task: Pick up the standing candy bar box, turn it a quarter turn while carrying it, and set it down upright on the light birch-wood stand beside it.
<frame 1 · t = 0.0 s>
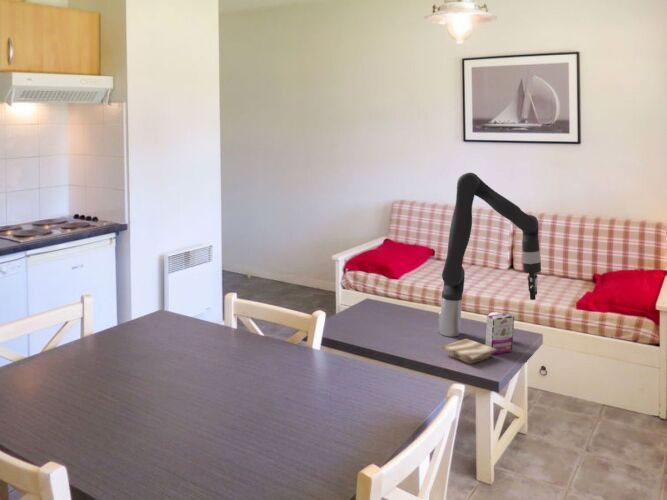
hand: (533, 297, 287), 22 cm above the table, tool pointing down, fingers open, 8 cm apart
candy bar box: (497, 352, 283), on the table
stand: (468, 356, 277), on the table
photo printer: (497, 339, 299), on the table
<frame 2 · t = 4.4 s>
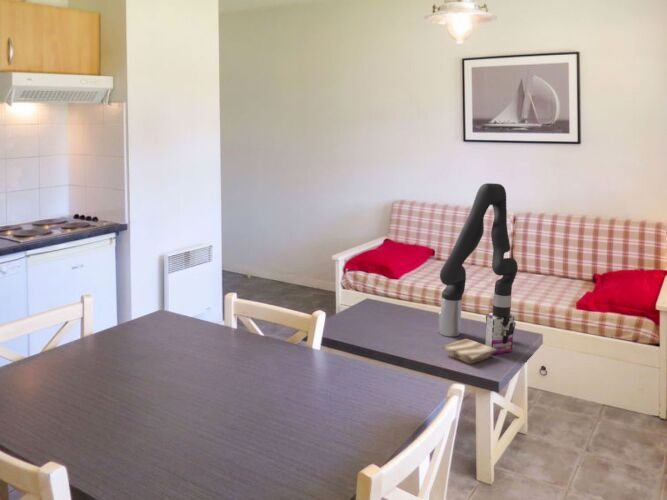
hand: (498, 341, 282), 5 cm above the table, tool pointing down, fingers closed on candy bar box, 5 cm apart
candy bar box: (497, 352, 283), on the table, touching gripper
everything else where it was.
when the fingers open (10 cm above the table, at t = 10.1 s): candy bar box drops 1 cm, resting on stand.
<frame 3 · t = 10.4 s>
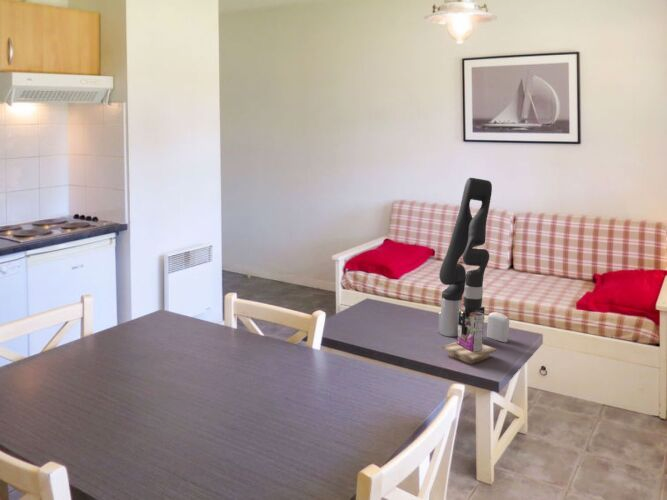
hand: (470, 332, 274), 11 cm above the table, tool pointing down, fingers open, 8 cm apart
candy bar box: (468, 348, 276), point 4 cm above the table, touching stand
everything else where it was.
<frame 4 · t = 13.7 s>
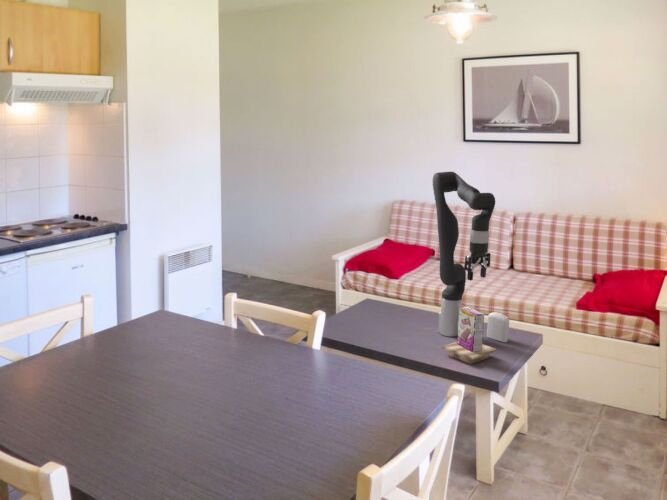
hand: (476, 278, 274), 33 cm above the table, tool pointing down, fingers open, 8 cm apart
nothing on the table moved.
at the end: candy bar box inside the target area on the stand (0.1 cm from its centre), point 3.8 cm above the stand's base; candy bar box tilted 0°; the gripper is holding nothing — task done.
